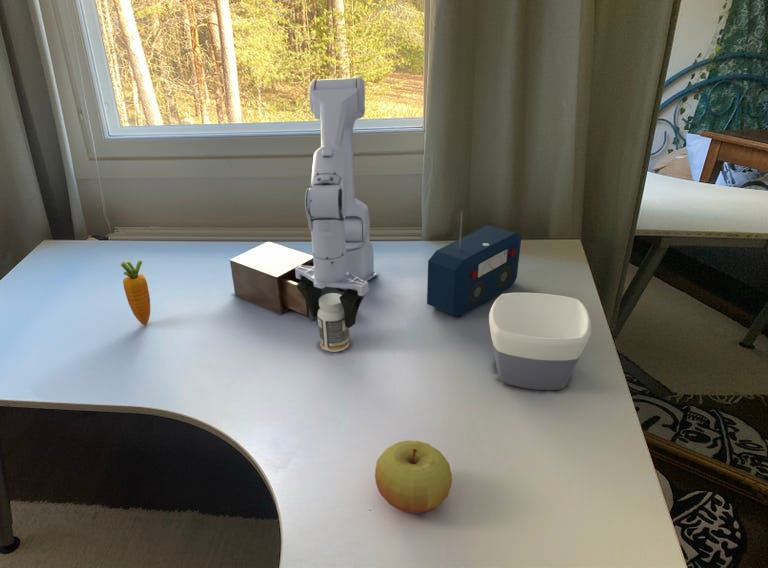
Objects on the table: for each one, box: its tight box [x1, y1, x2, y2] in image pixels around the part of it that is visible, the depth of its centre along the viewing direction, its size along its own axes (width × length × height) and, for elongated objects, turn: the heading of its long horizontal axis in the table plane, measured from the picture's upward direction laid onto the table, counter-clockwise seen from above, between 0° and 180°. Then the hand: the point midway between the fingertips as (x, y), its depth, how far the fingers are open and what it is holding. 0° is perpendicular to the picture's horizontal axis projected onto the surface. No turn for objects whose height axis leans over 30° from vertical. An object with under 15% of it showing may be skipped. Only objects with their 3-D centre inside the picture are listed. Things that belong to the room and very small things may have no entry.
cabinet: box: [229, 241, 314, 315], centre depth 136 cm, size 15×12×9 cm
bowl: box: [488, 292, 592, 391], centre depth 103 cm, size 15×15×11 cm
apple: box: [374, 440, 453, 514], centre depth 83 cm, size 10×10×8 cm
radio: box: [426, 210, 522, 317], centre depth 124 cm, size 21×9×20 cm, turn 129°
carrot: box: [120, 260, 151, 326], centre depth 127 cm, size 5×5×15 cm
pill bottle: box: [317, 293, 351, 353], centre depth 116 cm, size 6×6×10 cm
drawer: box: [280, 263, 347, 323], centre depth 128 cm, size 18×10×7 cm, turn 46°
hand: (333, 319), depth 115 cm, fingers open, 7 cm apart
